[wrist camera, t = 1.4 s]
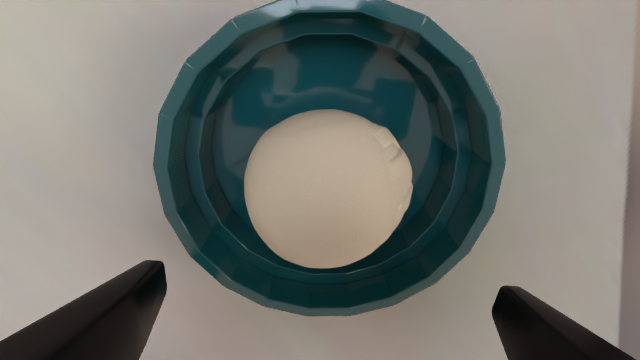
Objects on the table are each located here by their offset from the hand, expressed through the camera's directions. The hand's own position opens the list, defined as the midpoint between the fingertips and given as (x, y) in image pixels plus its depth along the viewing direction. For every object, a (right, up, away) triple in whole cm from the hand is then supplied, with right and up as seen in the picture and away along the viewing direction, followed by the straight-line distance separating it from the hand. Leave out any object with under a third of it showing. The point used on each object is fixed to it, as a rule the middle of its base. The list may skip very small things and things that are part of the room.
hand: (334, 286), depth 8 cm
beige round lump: (0, +4, +9) cm, 10 cm away
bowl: (0, +4, +9) cm, 10 cm away
